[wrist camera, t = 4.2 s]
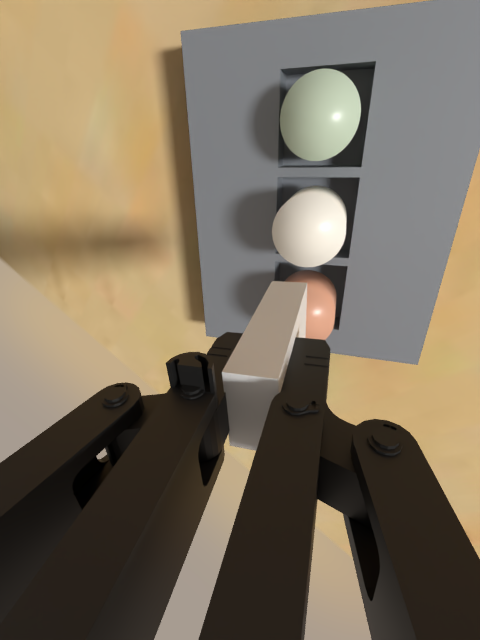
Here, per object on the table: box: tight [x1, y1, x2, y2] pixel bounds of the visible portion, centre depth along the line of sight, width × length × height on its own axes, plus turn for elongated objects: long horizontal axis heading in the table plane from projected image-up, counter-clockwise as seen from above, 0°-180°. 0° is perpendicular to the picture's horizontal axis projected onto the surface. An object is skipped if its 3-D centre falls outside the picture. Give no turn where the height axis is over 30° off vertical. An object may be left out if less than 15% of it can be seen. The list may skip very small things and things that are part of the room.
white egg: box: [272, 185, 347, 267], centre depth 22 cm, size 4×4×4 cm
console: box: [181, 0, 480, 365], centre depth 25 cm, size 18×22×3 cm
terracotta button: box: [284, 270, 337, 340], centre depth 24 cm, size 4×4×4 cm
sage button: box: [280, 69, 361, 161], centre depth 20 cm, size 4×4×4 cm
